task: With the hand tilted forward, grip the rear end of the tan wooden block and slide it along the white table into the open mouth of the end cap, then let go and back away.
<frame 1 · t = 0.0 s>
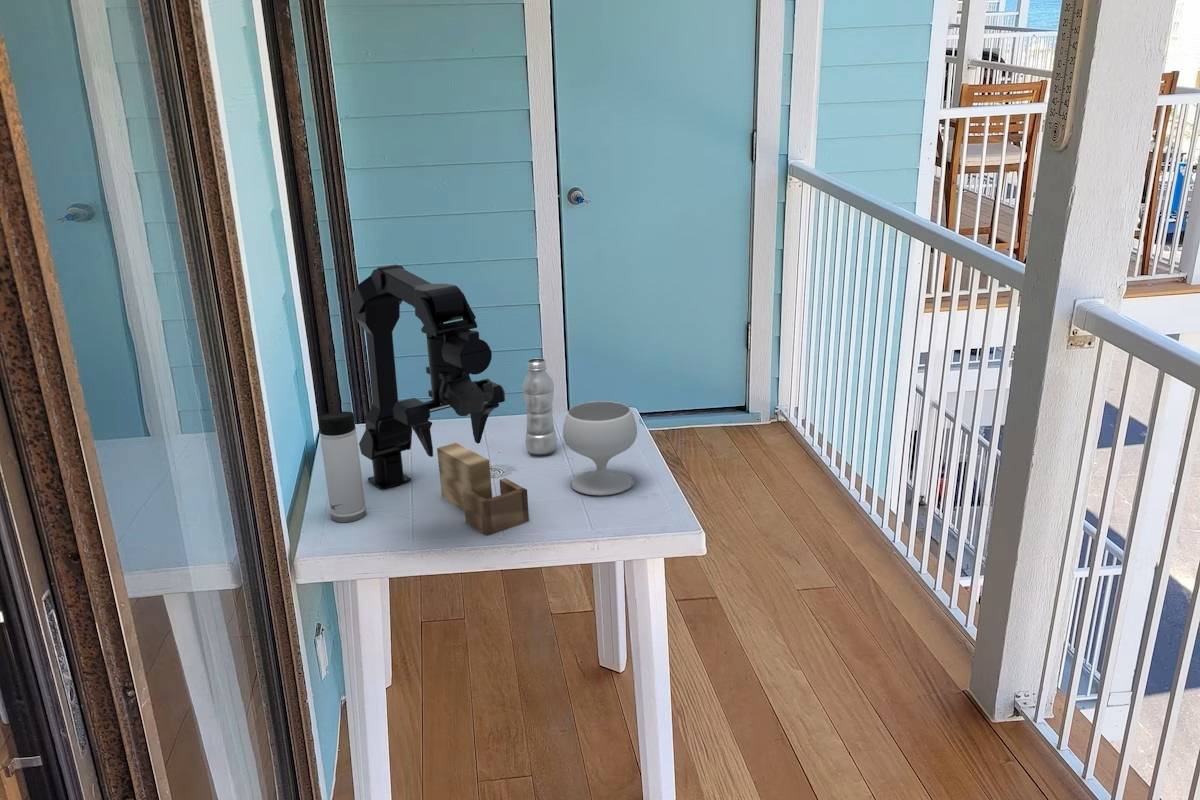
hand: (454, 449, 171), 15 cm above the table, tool pointing down, fingers open, 9 cm apart
end cap: (497, 521, 178), on the table
plastic bottle: (542, 453, 209), on the table
chalice: (602, 485, 192), on the table
tan wooden block: (467, 503, 186), on the table
travel mug: (349, 517, 183), on the table
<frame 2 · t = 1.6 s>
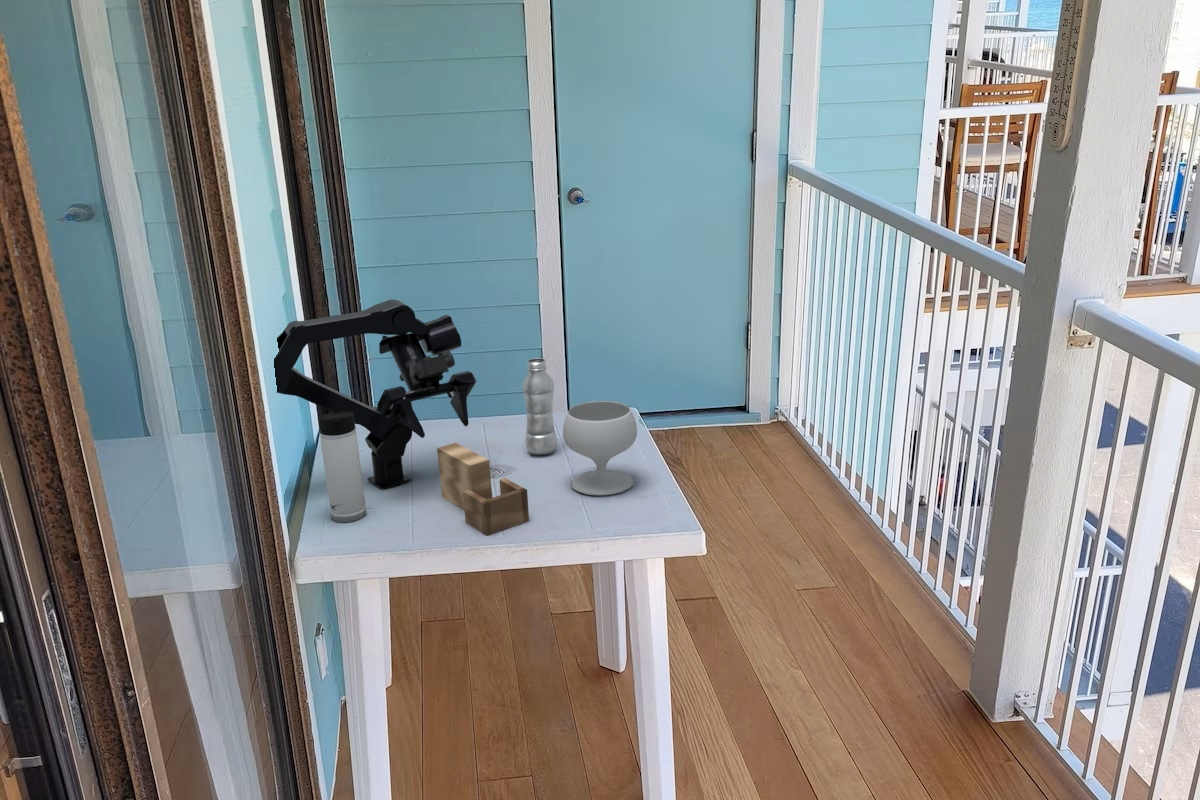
hand: (445, 430, 186), 13 cm above the table, tool tilted 45°, fingers open, 9 cm apart
nothing on the table moved.
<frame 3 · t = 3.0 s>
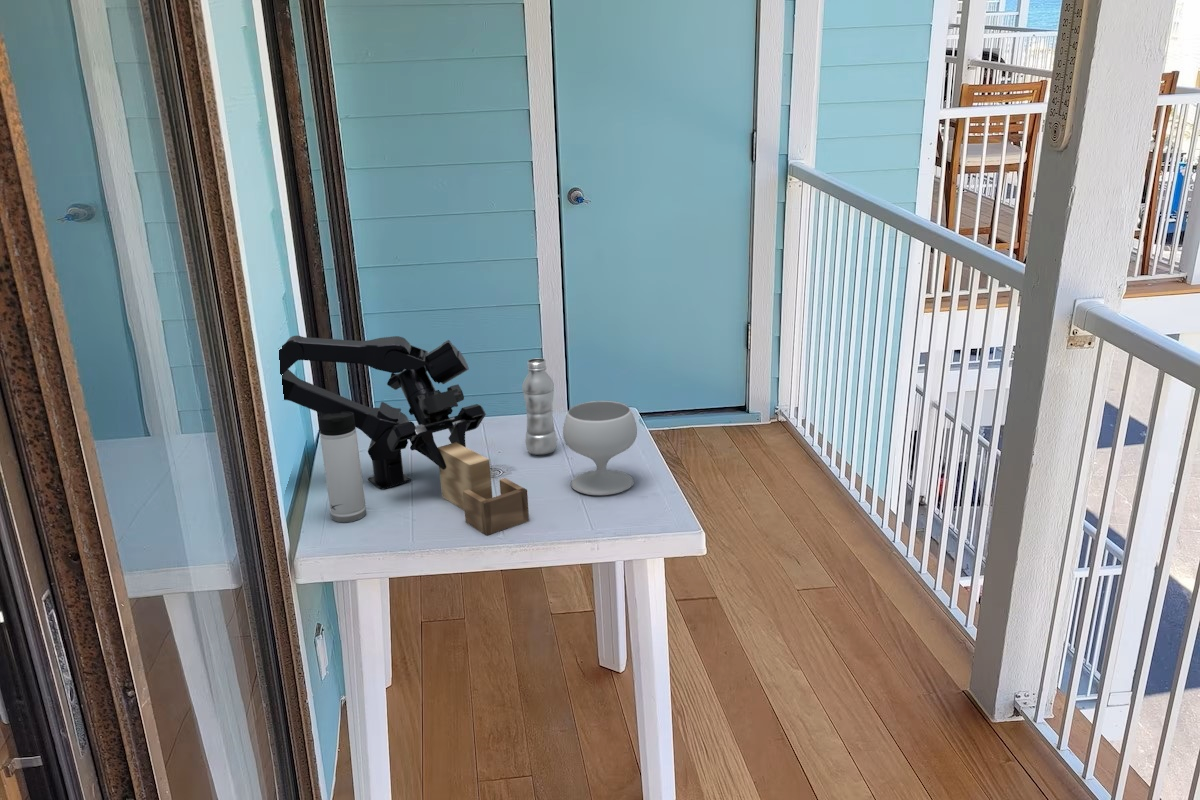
hand: (455, 465, 186), 7 cm above the table, tool tilted 45°, fingers closed on tan wooden block, 4 cm apart
tan wooden block: (467, 503, 186), on the table, touching gripper
everything else where it was.
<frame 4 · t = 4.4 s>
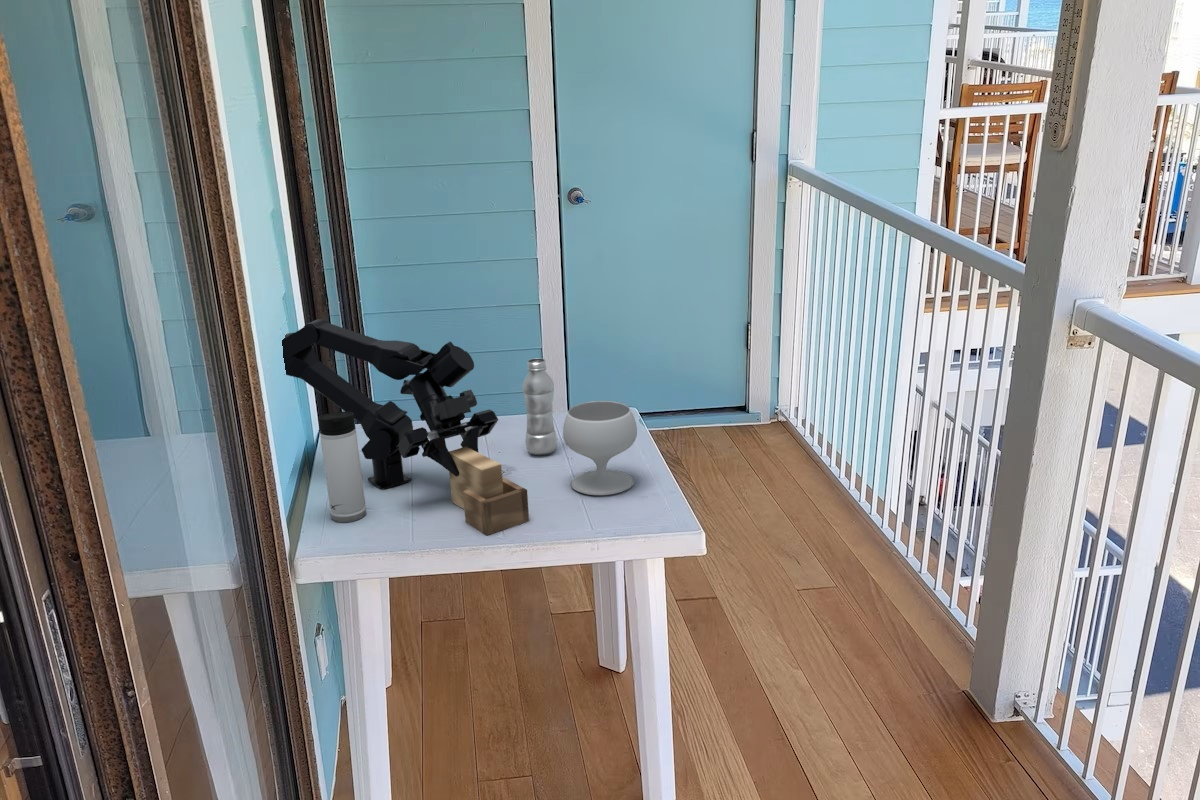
hand: (468, 472, 183), 7 cm above the table, tool tilted 45°, fingers closed on tan wooden block, 4 cm apart
tan wooden block: (478, 508, 183), on the table, touching gripper
everything else where it was.
when the fingers open (7 cm above the table, at t = 6.0 s): tan wooden block stays where it is, on the table.
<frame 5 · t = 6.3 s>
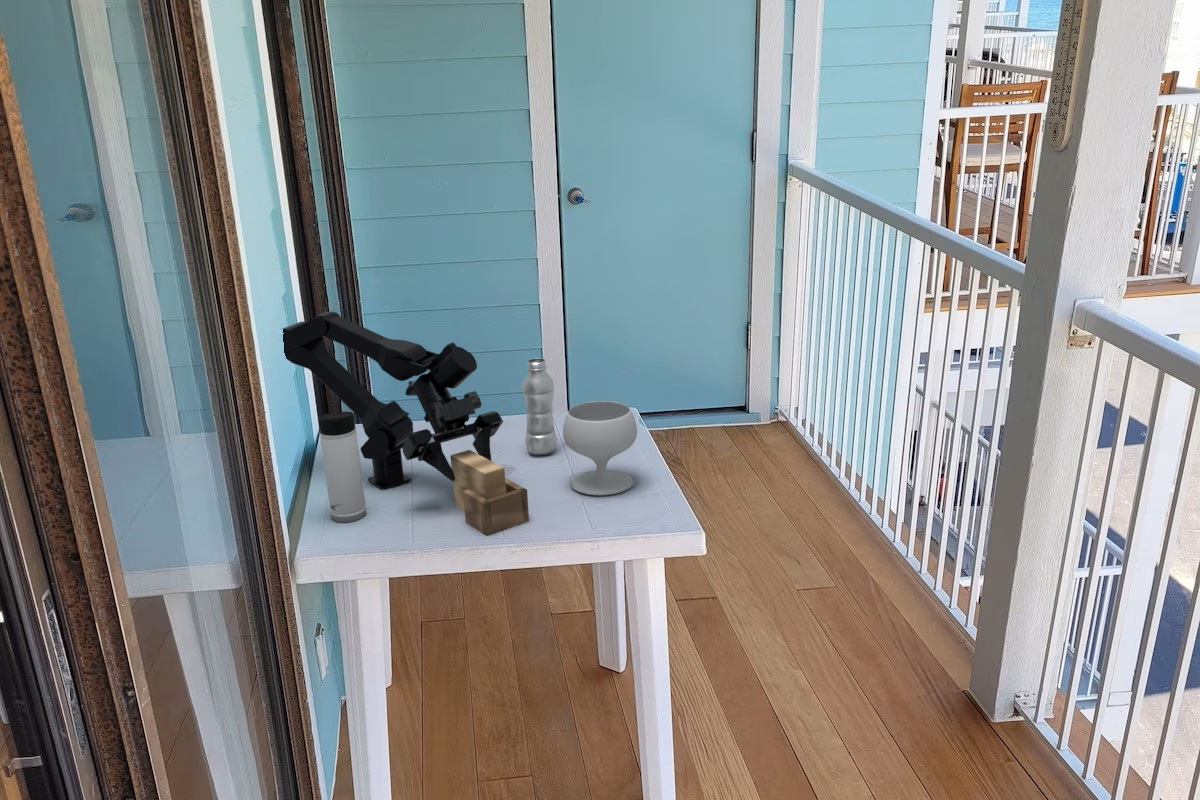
hand: (472, 474, 181), 7 cm above the table, tool tilted 45°, fingers open, 7 cm apart
tan wooden block: (481, 512, 182), on the table
everything else where it was.
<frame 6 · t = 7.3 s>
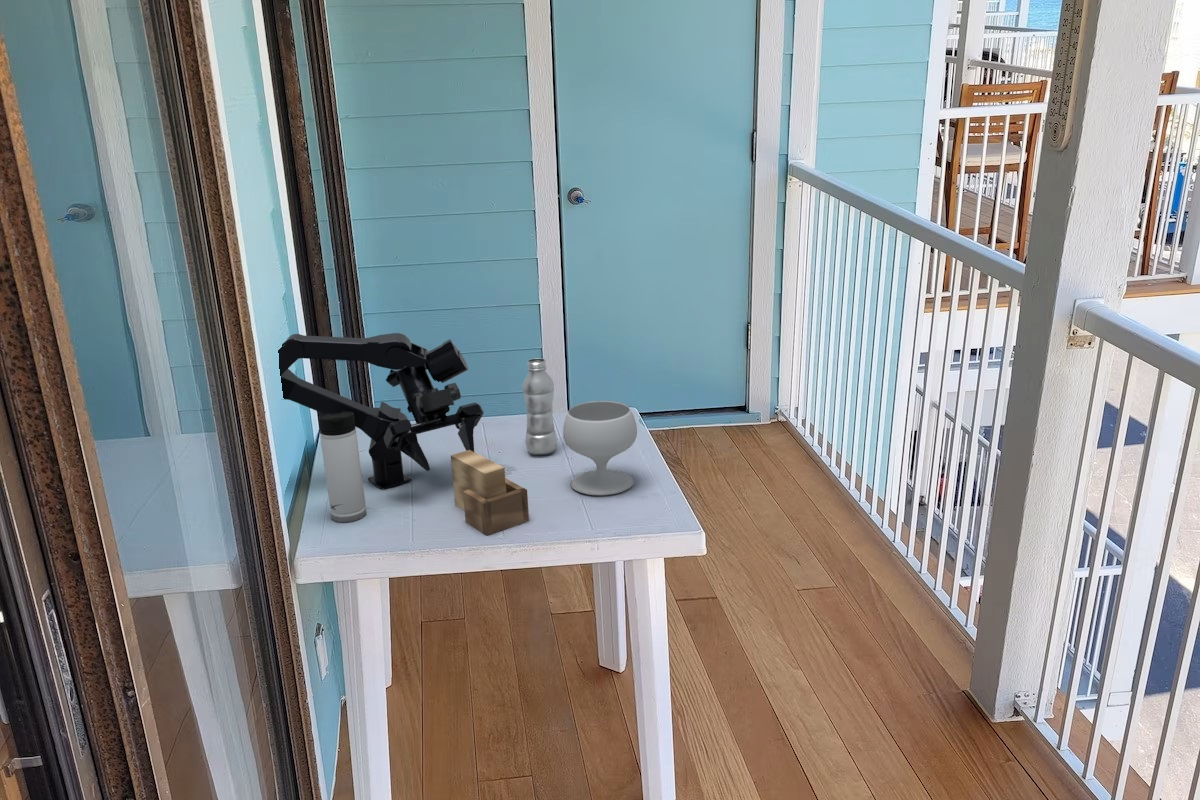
hand: (451, 463, 186), 7 cm above the table, tool tilted 45°, fingers open, 9 cm apart
nothing on the table moved.
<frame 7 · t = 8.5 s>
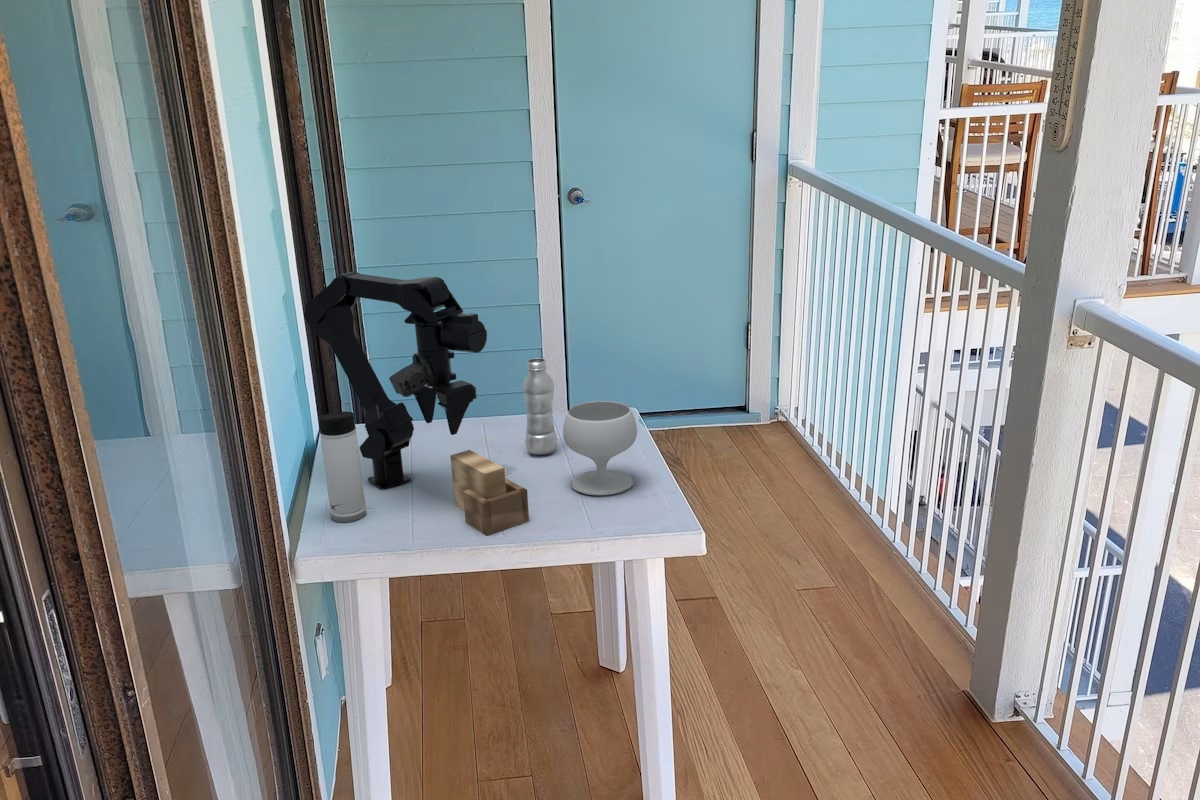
hand: (441, 428, 187), 13 cm above the table, tool pointing down, fingers open, 9 cm apart
nothing on the table moved.
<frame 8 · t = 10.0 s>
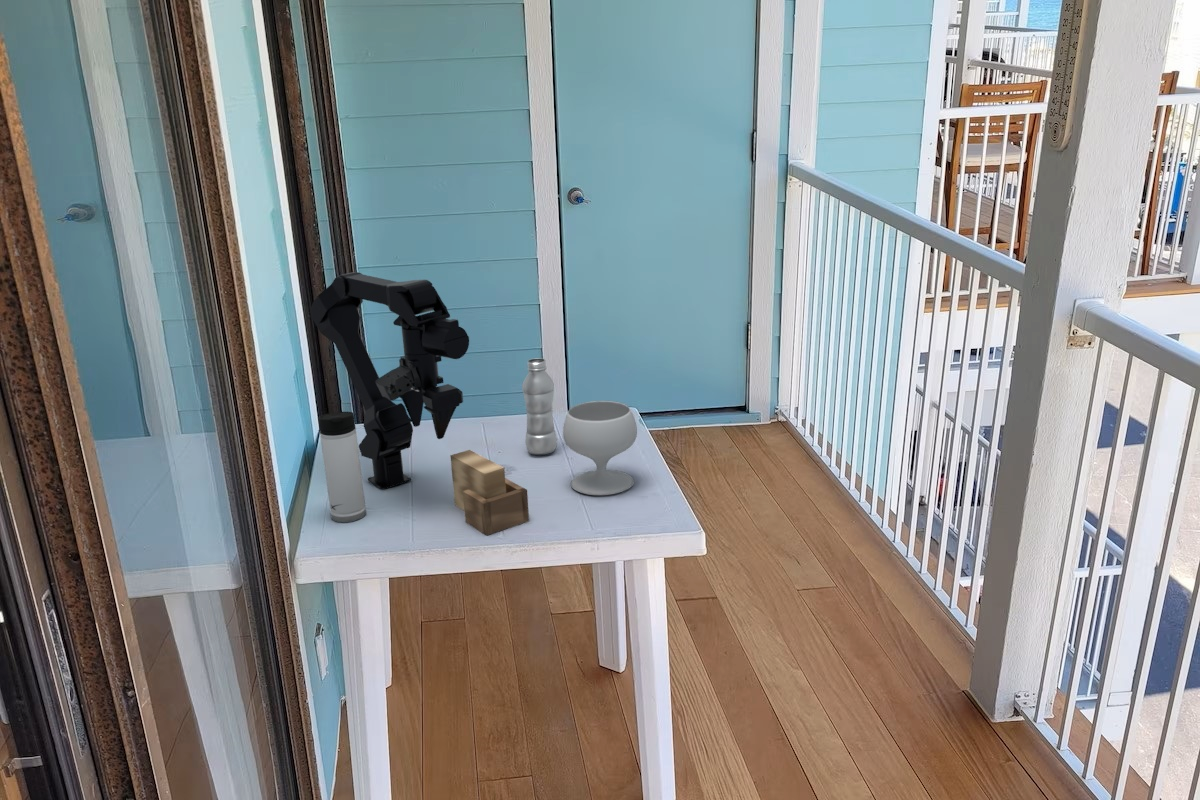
hand: (428, 432, 185), 13 cm above the table, tool pointing down, fingers open, 9 cm apart
nothing on the table moved.
at the end: tan wooden block 1.1 cm from the target spot, on the table; tan wooden block tilted 0°; tan wooden block moved 5.1 cm from its start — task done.
